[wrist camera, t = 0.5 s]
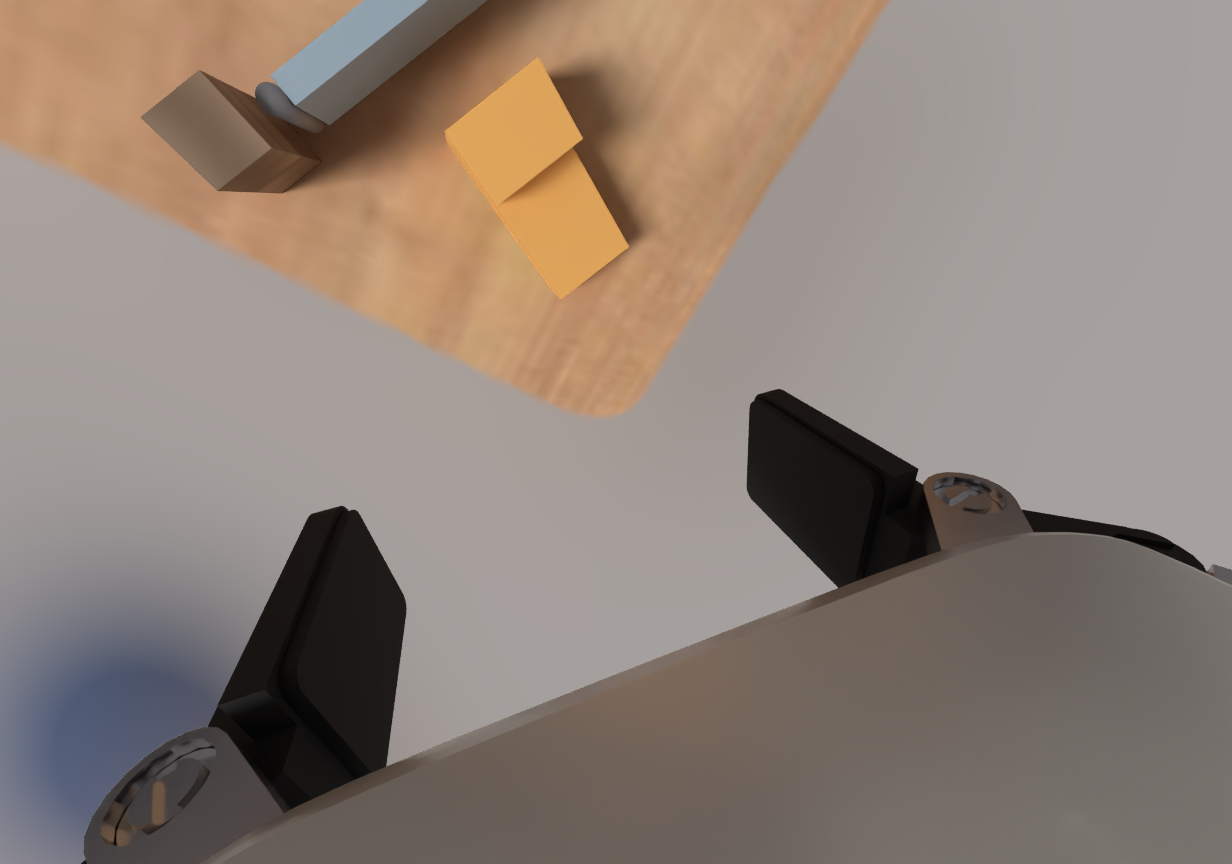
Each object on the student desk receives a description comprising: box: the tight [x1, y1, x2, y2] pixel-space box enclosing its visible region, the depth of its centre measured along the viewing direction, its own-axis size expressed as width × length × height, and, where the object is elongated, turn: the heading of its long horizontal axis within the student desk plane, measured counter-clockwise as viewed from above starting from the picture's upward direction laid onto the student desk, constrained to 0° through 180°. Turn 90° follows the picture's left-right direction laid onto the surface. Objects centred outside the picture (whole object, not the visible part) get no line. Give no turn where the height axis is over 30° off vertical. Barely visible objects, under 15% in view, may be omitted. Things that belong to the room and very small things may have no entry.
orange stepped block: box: [444, 57, 629, 299], centre depth 27 cm, size 11×6×6 cm, turn 33°
